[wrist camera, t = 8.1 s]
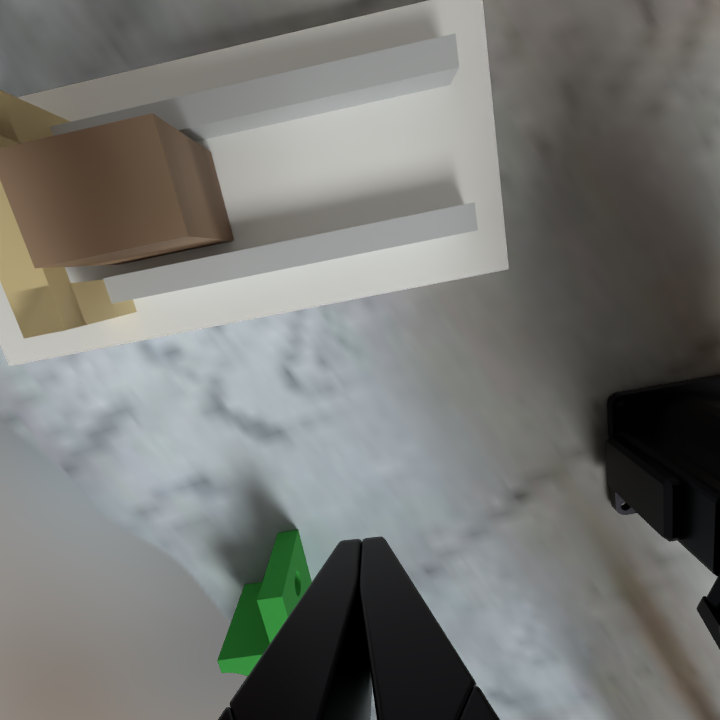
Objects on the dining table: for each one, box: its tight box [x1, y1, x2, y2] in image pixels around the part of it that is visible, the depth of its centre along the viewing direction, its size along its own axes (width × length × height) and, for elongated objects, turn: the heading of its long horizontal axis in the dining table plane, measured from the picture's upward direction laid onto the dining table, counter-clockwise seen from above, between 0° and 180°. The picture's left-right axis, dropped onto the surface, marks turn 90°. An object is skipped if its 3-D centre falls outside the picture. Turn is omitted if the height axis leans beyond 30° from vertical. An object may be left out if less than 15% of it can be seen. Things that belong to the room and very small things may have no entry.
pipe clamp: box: [218, 530, 312, 676], centre depth 21 cm, size 11×4×5 cm, turn 10°
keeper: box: [0, 113, 234, 268], centre depth 14 cm, size 5×3×4 cm
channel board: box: [0, 0, 509, 366], centre depth 15 cm, size 22×10×5 cm, turn 101°
